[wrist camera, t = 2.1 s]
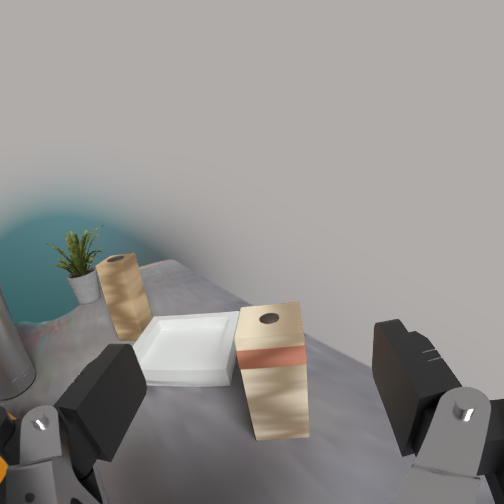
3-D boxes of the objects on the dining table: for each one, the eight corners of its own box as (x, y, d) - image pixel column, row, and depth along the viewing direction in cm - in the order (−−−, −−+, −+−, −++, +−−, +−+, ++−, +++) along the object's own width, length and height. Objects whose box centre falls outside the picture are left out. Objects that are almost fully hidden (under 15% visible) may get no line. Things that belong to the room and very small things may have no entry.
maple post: (255, 441, 22) (233, 337, 19) (258, 405, 27) (240, 306, 24) (309, 437, 22) (304, 331, 19) (306, 401, 26) (299, 300, 23)
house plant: (135, 286, 64) (118, 214, 60) (95, 315, 52) (71, 231, 47) (94, 285, 69) (77, 221, 64) (55, 309, 56) (34, 237, 52)
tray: (124, 383, 32) (117, 368, 31) (158, 330, 44) (154, 316, 43) (230, 386, 30) (226, 369, 30) (242, 325, 43) (239, 311, 42)
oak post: (119, 340, 42) (95, 265, 39) (130, 325, 46) (110, 255, 43) (144, 339, 42) (121, 261, 38) (154, 325, 46) (135, 252, 42)
